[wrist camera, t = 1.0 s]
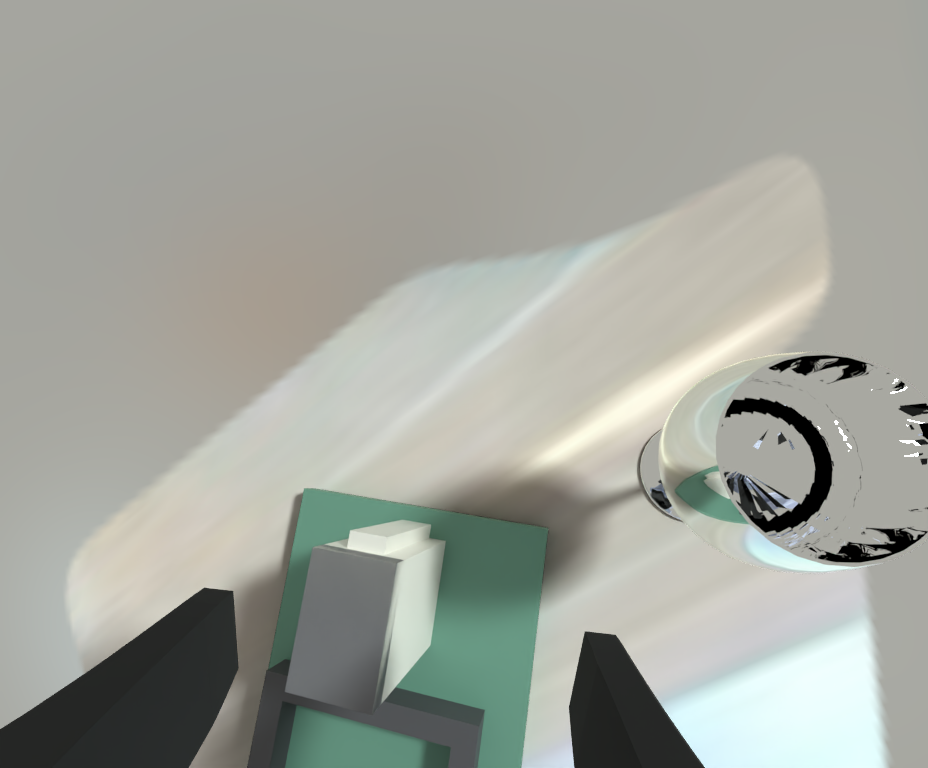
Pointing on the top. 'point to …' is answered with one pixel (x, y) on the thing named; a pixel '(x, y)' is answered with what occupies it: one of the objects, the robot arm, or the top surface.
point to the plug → (366, 614)
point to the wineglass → (797, 463)
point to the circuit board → (440, 667)
